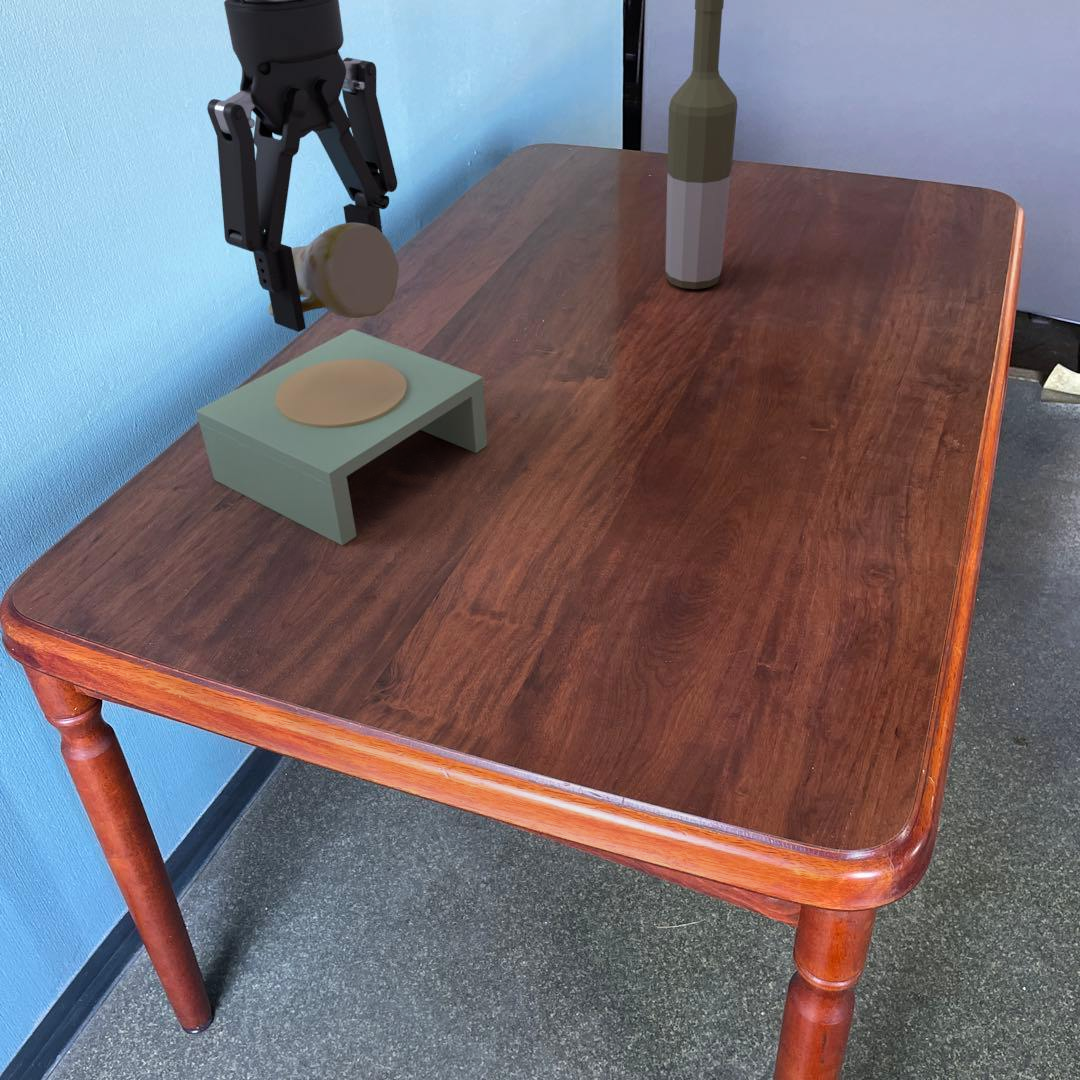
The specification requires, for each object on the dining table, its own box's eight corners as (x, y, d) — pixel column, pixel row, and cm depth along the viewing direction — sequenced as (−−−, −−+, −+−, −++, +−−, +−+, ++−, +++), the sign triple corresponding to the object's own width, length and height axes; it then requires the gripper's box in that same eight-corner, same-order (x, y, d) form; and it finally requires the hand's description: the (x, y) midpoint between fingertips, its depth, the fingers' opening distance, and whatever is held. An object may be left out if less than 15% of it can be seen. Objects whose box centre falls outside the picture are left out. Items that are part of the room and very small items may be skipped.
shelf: (214, 479, 93) (195, 407, 89) (361, 394, 104) (351, 325, 100) (342, 546, 85) (328, 469, 81) (487, 445, 96) (482, 373, 92)
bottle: (727, 293, 120) (751, -3, 101) (664, 295, 120) (676, -1, 101) (720, 267, 125) (741, -18, 107) (659, 269, 125) (670, -16, 107)
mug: (315, 275, 91) (356, 178, 84) (381, 356, 88) (429, 261, 82) (241, 284, 85) (279, 181, 79) (308, 370, 83) (354, 271, 76)
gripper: (187, 27, 63) (261, 370, 77) (427, -33, 76) (452, 271, 90) (112, 13, 67) (195, 343, 81) (352, -43, 80) (388, 251, 94)
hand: (331, 305), depth 85 cm, fingers closed on mug, 8 cm apart
